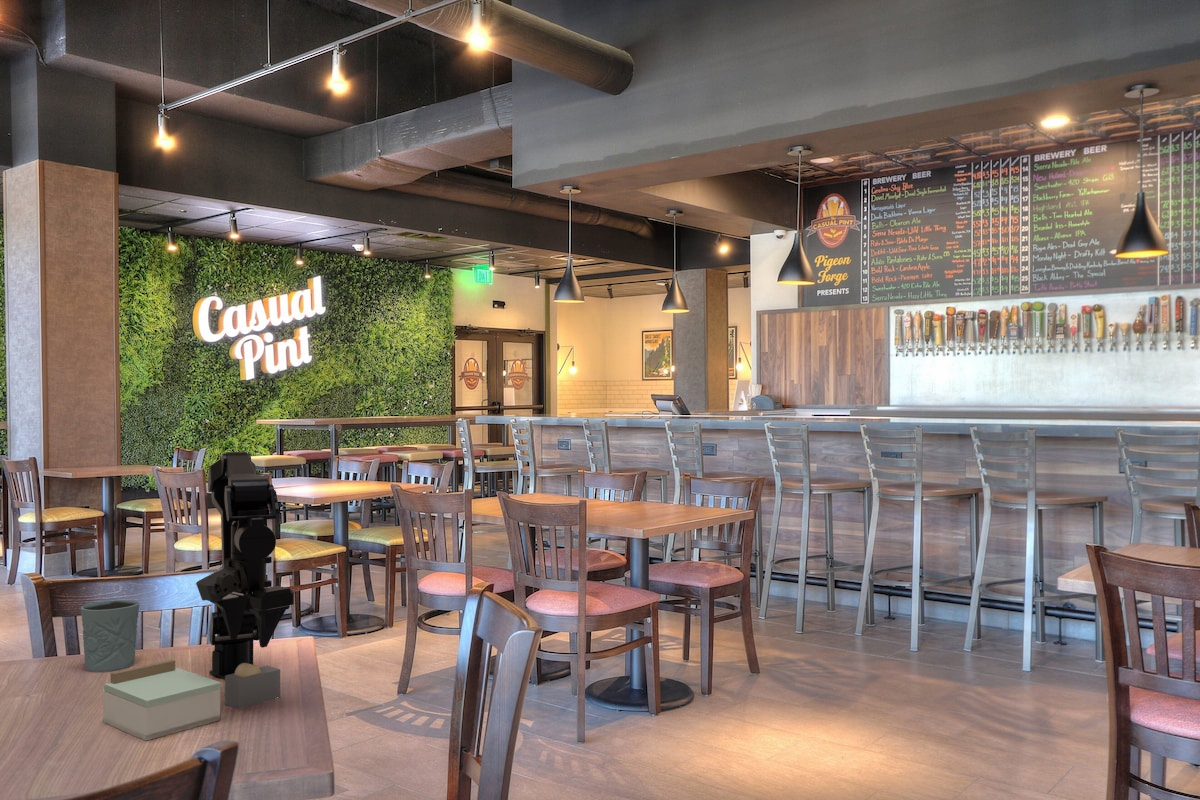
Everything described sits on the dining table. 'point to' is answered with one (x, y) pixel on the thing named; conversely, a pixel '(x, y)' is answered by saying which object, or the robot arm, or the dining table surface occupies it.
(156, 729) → the box
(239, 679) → the tape dispenser
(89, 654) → the grey-green cup
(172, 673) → the lid
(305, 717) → the dining table surface
